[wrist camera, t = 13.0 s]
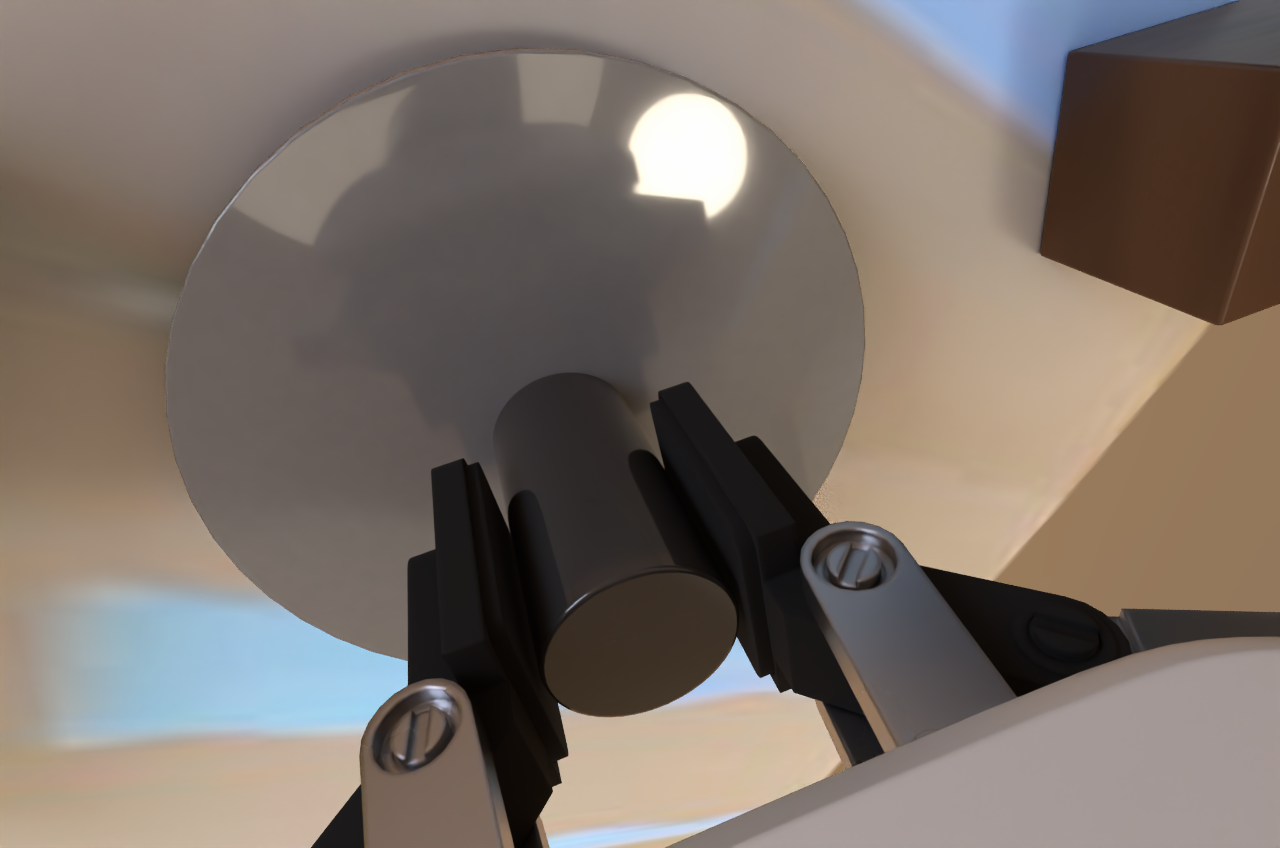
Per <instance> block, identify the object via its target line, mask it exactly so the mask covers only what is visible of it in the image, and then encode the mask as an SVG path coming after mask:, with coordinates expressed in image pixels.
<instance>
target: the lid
mask: <svg viewBox="0 0 1280 848" xmlns="http://www.w3.org/2000/svg"><path fill="white" fill-rule="evenodd" d="M864 350H865V327H864V305H863V300H862V294H861V288H860V282H859V276H858V271H857V268H856V265H855V261H854V258H853V255H852V252H851V249H850V246H849V243H848V240H847V237H846V234H845V232H844V230H843V228H842V226H841V224H840V222H839V220H838V218H837V216H836V214H835V212H834V210H833V208H832V206H831V204H830V202H829V200H828V198H827V196H826V195H825V193H824V192H823V190H822V189H821V188H820V186H819V185H818V183H817V182H816V181H815V179H814V178H813V176H812V175H811V174H810V172H809V171H808V169H807V168H806V167H805V165H804V164H803V162H802V161H801V160H800V159H799V158H798V157H797V156H796V155H795V154H794V153H793V152H792V151H791V150H790V149H789V148H788V147H787V146H786V145H785V144H784V143H783V142H782V141H781V140H780V139H779V138H778V137H777V136H776V135H775V134H774V133H773V132H772V131H771V130H770V129H769V128H768V127H766V126H765V125H764V124H762V123H761V122H759V121H758V120H757V119H755V118H754V117H753V116H751V115H750V114H749V113H747V112H746V111H745V110H743V109H742V108H741V107H739V106H738V105H737V104H735V103H734V102H732V101H731V100H729V99H727V98H725V97H723V96H721V95H719V94H717V93H715V92H713V91H711V90H710V89H708V88H706V87H704V86H702V85H700V84H698V83H696V82H694V81H692V80H690V79H688V78H686V77H683V76H680V75H677V74H674V73H671V72H668V71H665V70H662V69H659V68H656V67H654V66H651V65H648V64H645V63H642V62H639V61H635V60H632V59H627V58H622V57H616V56H610V55H605V54H599V53H593V52H588V51H582V50H576V49H544V48H513V49H505V50H497V51H490V52H482V53H474V54H466V55H459V56H456V57H452V58H449V59H445V60H442V61H438V62H435V63H431V64H428V65H424V66H421V67H417V68H413V69H410V70H406V71H403V72H401V73H399V74H396V75H394V76H392V77H390V78H388V79H386V80H383V81H381V82H379V83H377V84H375V85H372V86H370V87H368V88H366V89H364V90H361V91H359V92H357V93H355V94H353V95H350V96H349V97H347V98H345V99H344V100H342V101H341V102H339V103H338V104H336V105H335V106H333V107H332V108H330V109H329V110H327V111H326V112H324V113H323V114H321V115H320V116H318V117H317V118H315V119H314V120H312V121H311V122H309V123H308V124H306V125H304V126H303V127H301V128H300V129H299V130H298V131H297V132H296V133H294V134H293V135H292V136H291V137H290V138H289V139H288V140H287V141H286V142H285V143H284V144H282V145H281V146H280V147H279V148H278V149H277V150H276V151H275V152H274V153H273V154H271V155H270V156H269V157H268V158H267V159H266V160H265V161H264V162H263V163H262V164H261V165H259V166H258V167H257V168H256V170H255V171H254V172H253V173H252V174H251V175H250V177H249V178H248V179H247V181H246V182H245V183H244V184H243V186H242V187H241V188H240V189H239V191H238V192H237V193H236V194H235V196H234V197H233V198H232V200H231V201H230V202H229V203H228V205H227V206H226V207H225V208H224V210H223V211H222V212H221V213H220V215H219V216H218V217H217V219H216V220H215V222H214V224H213V225H212V227H211V229H210V231H209V233H208V235H207V236H206V238H205V240H204V242H203V244H202V246H201V247H200V249H199V251H198V253H197V255H196V257H195V258H194V260H193V262H192V264H191V266H190V268H189V270H188V273H187V276H186V279H185V282H184V285H183V288H182V291H181V294H180V297H179V300H178V303H177V306H176V309H175V312H174V315H173V318H172V324H171V330H170V337H169V344H168V350H167V357H166V363H165V390H166V417H167V422H168V426H169V431H170V436H171V441H172V446H173V451H174V456H175V460H176V463H177V465H178V468H179V470H180V473H181V476H182V478H183V481H184V483H185V486H186V488H187V491H188V494H189V496H190V499H191V501H192V503H193V505H194V506H195V508H196V510H197V512H198V513H199V515H200V517H201V518H202V520H203V522H204V523H205V525H206V527H207V528H208V530H209V532H210V534H211V535H212V537H213V538H214V540H215V541H216V542H217V543H218V545H219V546H220V547H221V548H222V549H223V551H224V552H225V553H226V554H227V556H228V557H229V558H230V559H231V560H232V562H233V563H234V564H235V565H236V567H237V568H238V569H239V570H240V571H241V572H242V573H243V574H244V575H245V576H246V577H248V578H249V579H250V580H251V581H252V582H253V583H254V584H255V585H256V586H257V587H258V588H260V589H261V590H262V591H263V592H264V593H265V594H266V595H267V596H268V597H269V598H271V599H272V600H274V601H275V602H277V603H278V604H280V605H281V606H282V607H284V608H285V609H287V610H288V611H290V612H291V613H293V614H294V615H295V616H297V617H298V618H300V619H301V620H303V621H305V622H307V623H309V624H311V625H312V626H314V627H316V628H318V629H320V630H322V631H324V632H326V633H328V634H330V635H332V636H333V637H335V638H338V639H340V640H343V641H346V642H348V643H351V644H353V645H356V646H359V647H361V648H364V649H366V650H369V651H372V652H375V653H379V654H383V655H387V656H390V657H394V658H398V659H402V660H406V661H408V592H407V567H408V561H409V559H410V558H411V557H414V556H417V555H420V554H423V553H425V552H428V551H431V550H434V549H435V533H434V516H433V499H432V481H431V469H433V468H435V467H438V466H441V465H444V464H447V463H450V462H453V461H456V460H459V459H462V458H464V459H465V461H466V462H467V464H468V465H470V464H473V463H476V462H479V464H480V465H481V467H482V469H483V472H484V474H485V476H486V479H487V481H488V483H489V485H490V488H491V490H492V492H493V495H494V497H495V499H496V501H497V504H498V506H499V508H500V511H501V513H502V515H503V517H504V520H505V522H506V524H507V527H508V529H509V531H510V533H511V538H512V543H513V548H514V553H515V558H516V563H517V568H518V573H519V578H520V583H521V588H522V593H523V598H524V603H525V607H526V612H527V617H528V622H529V627H530V632H531V637H532V642H533V647H534V652H535V657H536V662H537V667H538V672H539V675H540V679H541V682H542V683H543V685H544V687H545V689H546V690H547V691H548V693H549V694H550V695H551V696H552V698H553V699H555V700H556V701H557V702H558V703H559V704H561V705H562V706H564V707H566V708H567V709H569V710H572V711H574V712H577V713H580V714H584V715H588V716H595V717H622V716H629V715H635V714H639V713H643V712H647V711H650V710H653V709H656V708H659V707H661V706H664V705H666V704H669V703H671V702H673V701H675V700H677V699H679V698H681V697H682V696H684V695H686V694H687V693H689V692H690V691H692V690H693V689H695V688H696V687H697V686H699V685H700V684H702V683H703V682H704V681H705V680H706V679H707V678H709V677H710V676H711V675H712V674H713V673H714V672H715V671H716V670H717V669H718V667H719V666H720V665H721V664H722V662H723V661H724V660H725V658H726V657H727V655H728V654H729V652H730V651H731V649H732V646H733V644H734V642H735V640H736V637H737V633H738V628H739V607H738V602H737V600H736V597H735V595H734V593H733V591H732V589H731V588H730V586H729V584H728V582H727V580H726V579H725V577H724V575H723V573H722V571H721V570H720V568H719V566H718V564H717V563H716V561H715V559H714V557H713V555H712V554H711V552H710V550H709V548H708V546H707V545H706V543H705V541H704V539H703V537H702V536H701V534H700V532H699V530H698V529H697V527H696V525H695V523H694V521H693V520H692V518H691V516H690V514H689V512H688V511H687V509H686V507H685V505H684V503H683V502H682V500H681V498H680V496H679V495H678V493H677V491H676V489H675V487H674V486H673V484H672V482H671V480H670V478H669V477H668V475H667V473H666V471H665V469H664V464H663V460H662V456H661V452H660V448H659V443H658V439H657V435H656V431H655V427H654V423H653V418H652V414H651V410H650V403H651V402H654V401H657V400H659V398H658V392H659V391H661V390H663V389H666V388H669V387H672V386H675V385H678V384H681V383H684V382H689V383H690V384H691V385H692V386H693V387H694V389H695V390H696V391H697V393H698V394H699V395H700V397H701V398H702V399H703V401H704V402H705V403H706V404H707V406H708V407H709V408H710V410H711V411H712V412H713V414H714V415H715V416H716V418H717V419H718V420H719V422H720V423H721V424H722V426H723V427H724V428H725V430H726V431H727V432H728V434H729V435H730V436H731V438H732V439H733V440H734V442H736V441H739V440H742V439H744V438H747V437H750V436H753V435H754V436H757V437H758V438H759V439H761V440H762V442H763V443H764V444H765V445H766V446H767V448H768V449H769V450H770V451H771V452H772V454H773V455H774V456H775V457H776V459H777V460H778V461H779V462H780V463H781V465H782V466H783V467H784V468H785V470H786V471H787V472H788V473H789V474H790V476H791V477H792V478H793V479H794V480H795V482H796V483H797V484H798V485H799V487H800V488H801V489H802V490H803V491H804V493H805V494H806V495H807V496H808V498H809V499H810V500H811V501H812V500H813V499H814V497H815V496H816V494H817V492H818V491H819V489H820V488H821V486H822V484H823V483H824V481H825V480H826V478H827V476H828V474H829V472H830V470H831V468H832V466H833V464H834V462H835V460H836V458H837V456H838V454H839V452H840V450H841V447H842V445H843V442H844V439H845V437H846V434H847V431H848V428H849V425H850V423H851V420H852V417H853V414H854V410H855V406H856V401H857V397H858V393H859V388H860V384H861V379H862V369H863V360H864Z"/></svg>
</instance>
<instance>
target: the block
mask: <svg viewBox="0 0 1280 848" xmlns="http://www.w3.org/2000/svg"><path fill="white" fill-rule="evenodd" d="M1040 253H1041V255H1042V256H1044V257H1046V258H1049V259H1051V260H1054V261H1056V262H1059V263H1061V264H1064V265H1066V266H1069V267H1071V268H1074V269H1076V270H1079V271H1081V272H1084V273H1086V274H1089V275H1091V276H1094V277H1096V278H1099V279H1101V280H1104V281H1106V282H1109V283H1111V284H1114V285H1116V286H1119V287H1121V288H1124V289H1126V290H1129V291H1132V292H1134V293H1137V294H1139V295H1142V296H1144V297H1147V298H1149V299H1152V300H1154V301H1157V302H1159V303H1162V304H1164V305H1167V306H1169V307H1172V308H1174V309H1177V310H1179V311H1182V312H1184V313H1187V314H1189V315H1192V316H1194V317H1197V318H1199V319H1202V320H1204V321H1207V322H1209V323H1212V324H1214V325H1223V324H1226V323H1229V322H1231V321H1234V320H1237V319H1240V318H1242V317H1245V316H1248V315H1250V314H1253V313H1255V312H1258V311H1261V310H1264V309H1267V308H1269V307H1272V306H1275V305H1277V304H1280V0H1240V1H1236V2H1233V3H1230V4H1226V5H1223V6H1220V7H1216V8H1213V9H1210V10H1206V11H1203V12H1200V13H1196V14H1193V15H1190V16H1186V17H1183V18H1180V19H1176V20H1173V21H1170V22H1166V23H1163V24H1160V25H1156V26H1153V27H1150V28H1146V29H1143V30H1140V31H1136V32H1133V33H1130V34H1126V35H1123V36H1120V37H1116V38H1113V39H1110V40H1106V41H1103V42H1100V43H1096V44H1093V45H1090V46H1086V47H1083V48H1080V49H1076V50H1073V51H1071V52H1070V53H1069V54H1068V59H1067V66H1066V73H1065V80H1064V87H1063V94H1062V101H1061V109H1060V116H1059V123H1058V130H1057V137H1056V144H1055V151H1054V159H1053V166H1052V173H1051V180H1050V187H1049V194H1048V201H1047V209H1046V216H1045V223H1044V230H1043V237H1042V244H1041V251H1040Z"/></svg>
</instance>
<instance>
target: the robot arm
mask: <svg viewBox="0 0 1280 848" xmlns="http://www.w3.org/2000/svg"><path fill="white" fill-rule="evenodd" d="M658 398H659V400H657V401H654V402H651V403H650V410H651V414H652V418H653V423H654V427H655V431H656V435H657V439H658V443H659V448H660V452H661V456H662V460H663V464H664V469H665V471H666V473H667V475H668V477H669V478H670V480H671V482H672V484H673V486H674V487H675V489H676V491H677V493H678V495H679V496H680V498H681V500H682V502H683V503H684V505H685V507H686V509H687V511H688V512H689V514H690V516H691V518H692V520H693V521H694V523H695V525H696V527H697V529H698V530H699V532H700V534H701V536H702V537H703V539H704V541H705V543H706V545H707V546H708V548H709V550H710V552H711V554H712V555H713V557H714V559H715V561H716V563H717V564H718V566H719V568H720V570H721V571H722V573H723V575H724V577H725V579H726V580H727V582H728V584H729V586H730V588H731V589H732V591H733V593H734V595H735V597H736V600H737V602H738V607H739V628H738V633H737V638H738V639H739V641H740V643H741V645H742V647H743V649H744V651H745V653H746V655H747V657H748V658H749V660H750V662H751V664H752V666H753V668H754V670H755V672H756V673H757V675H758V676H759V677H760V678H762V677H764V676H766V675H769V674H770V675H771V677H772V679H773V681H774V682H775V684H776V686H777V688H778V690H779V692H780V693H782V692H784V691H787V690H789V689H792V690H793V692H794V693H797V694H800V695H803V696H806V697H809V698H812V699H815V702H816V705H817V708H818V710H819V713H820V715H821V717H822V719H823V721H824V724H825V726H826V728H827V730H828V732H829V734H830V737H831V739H832V741H833V743H834V745H835V748H836V750H837V752H838V754H839V756H840V759H841V761H842V763H843V765H844V767H845V769H846V770H844V771H842V772H840V773H837V774H835V775H832V776H830V777H828V778H825V779H823V780H821V781H818V782H816V783H814V784H811V785H809V786H807V787H804V788H802V789H800V790H798V791H795V792H793V793H791V794H788V795H786V796H784V797H781V798H779V799H777V800H774V801H772V802H770V803H767V804H765V805H763V806H760V807H758V808H756V809H753V810H751V811H749V812H747V813H744V814H742V815H740V816H737V817H735V818H733V819H730V820H728V821H726V822H723V823H721V824H719V825H716V826H714V827H712V828H709V829H707V830H705V831H703V832H700V833H698V834H696V835H693V836H691V837H689V838H686V839H684V840H682V841H679V842H677V843H675V844H673V845H670V846H668V847H666V848H1280V612H1242V611H1239V612H1238V611H1201V610H1159V609H1158V610H1157V609H1155V610H1154V609H1121V612H1120V616H1119V617H1108V616H1106V615H1105V614H1104V613H1103V612H1101V611H1099V610H1097V609H1095V608H1093V607H1092V606H1090V605H1088V604H1086V603H1084V602H1081V601H1078V600H1074V599H1071V598H1068V597H1065V596H1060V595H1056V594H1051V593H1045V592H1041V591H1037V590H1032V589H1027V588H1022V587H1018V586H1013V585H1008V584H1004V583H999V582H995V581H990V580H985V579H981V578H976V577H971V576H967V575H962V574H957V573H953V572H948V571H943V570H939V569H934V568H929V567H925V566H920V565H918V563H917V562H916V560H915V559H914V558H913V556H912V555H911V554H910V552H909V551H908V550H907V548H906V547H905V546H904V544H903V543H902V542H901V541H900V540H899V539H898V538H897V537H896V536H895V535H894V534H892V533H891V532H889V531H887V530H885V529H883V528H881V527H879V526H876V525H873V524H869V523H865V522H852V521H846V522H840V523H834V524H830V523H829V522H828V521H827V519H826V518H825V517H824V516H823V515H822V513H821V512H820V511H819V510H818V509H817V507H816V506H815V505H814V504H813V502H812V501H811V500H810V499H809V498H808V496H807V495H806V494H805V493H804V491H803V490H802V489H801V488H800V487H799V485H798V484H797V483H796V482H795V480H794V479H793V478H792V477H791V476H790V474H789V473H788V472H787V471H786V470H785V468H784V467H783V466H782V465H781V463H780V462H779V461H778V460H777V459H776V457H775V456H774V455H773V454H772V452H771V451H770V450H769V449H768V448H767V446H766V445H765V444H764V443H763V442H762V440H761V439H759V438H758V437H757V436H754V435H753V436H750V437H747V438H744V439H742V440H739V441H736V442H734V440H733V439H732V438H731V436H730V435H729V434H728V432H727V431H726V430H725V428H724V427H723V426H722V424H721V423H720V422H719V420H718V419H717V418H716V416H715V415H714V414H713V412H712V411H711V410H710V408H709V407H708V406H707V404H706V403H705V402H704V401H703V399H702V398H701V397H700V395H699V394H698V393H697V391H696V390H695V389H694V387H693V386H692V385H691V384H690V383H689V382H684V383H681V384H678V385H675V386H672V387H669V388H666V389H663V390H661V391H659V392H658ZM431 481H432V499H433V516H434V533H435V549H434V550H431V551H428V552H425V553H423V554H420V555H417V556H414V557H411V558H410V559H409V561H408V567H407V592H408V686H407V687H405V688H403V689H402V690H400V691H398V692H397V693H395V694H394V695H392V696H391V697H390V698H389V699H388V700H387V701H386V702H385V703H384V704H383V705H382V706H381V707H379V709H378V710H377V712H376V713H375V714H374V716H373V717H372V719H371V720H370V721H369V723H368V725H367V727H366V730H365V732H364V734H363V737H362V739H361V747H360V755H359V757H360V775H361V784H360V786H359V787H358V788H357V790H356V791H355V792H354V793H353V795H352V796H351V797H350V799H349V800H348V801H347V802H346V804H345V805H344V806H343V807H342V809H341V810H340V811H339V813H338V814H337V815H336V816H335V818H334V819H333V820H332V821H331V823H330V824H329V825H328V827H327V828H326V829H325V830H324V832H323V833H322V834H321V836H320V837H319V838H318V839H317V841H316V842H315V843H314V844H313V846H312V847H311V848H549V844H548V841H547V837H546V833H545V830H544V826H543V823H542V820H541V818H540V816H539V815H540V813H541V811H542V810H543V808H544V806H545V805H546V803H547V801H548V799H549V798H550V796H551V794H552V792H553V790H552V787H553V786H556V785H558V784H560V783H562V782H561V777H560V772H559V767H558V762H557V760H560V759H562V758H565V757H567V756H568V748H567V743H566V738H565V734H564V729H563V725H562V720H561V716H560V711H559V707H558V702H557V701H556V700H555V699H553V698H552V696H551V695H550V694H549V693H548V691H547V690H546V689H545V687H544V685H543V683H542V682H541V679H540V675H539V672H538V667H537V662H536V657H535V652H534V647H533V642H532V637H531V632H530V627H529V622H528V617H527V612H526V607H525V603H524V598H523V593H522V588H521V583H520V578H519V573H518V568H517V563H516V558H515V553H514V548H513V543H512V538H511V533H510V531H509V529H508V527H507V524H506V522H505V520H504V517H503V515H502V513H501V511H500V508H499V506H498V504H497V501H496V499H495V497H494V495H493V492H492V490H491V488H490V485H489V483H488V481H487V479H486V476H485V474H484V472H483V469H482V467H481V465H480V464H479V462H476V463H473V464H470V465H468V464H467V462H466V461H465V459H464V458H462V459H459V460H456V461H453V462H450V463H447V464H444V465H441V466H438V467H435V468H433V469H431Z"/></svg>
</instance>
